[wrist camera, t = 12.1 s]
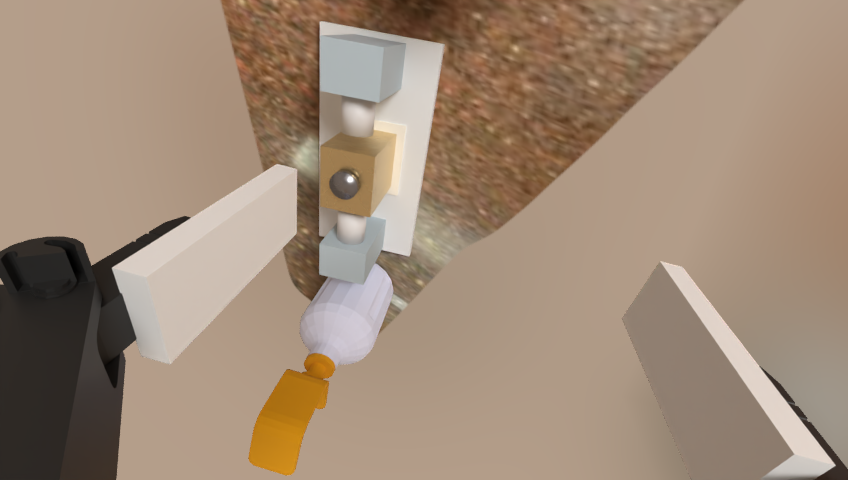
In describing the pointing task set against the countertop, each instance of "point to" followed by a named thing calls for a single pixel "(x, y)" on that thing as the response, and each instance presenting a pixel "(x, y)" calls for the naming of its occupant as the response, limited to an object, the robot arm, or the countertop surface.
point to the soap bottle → (319, 364)
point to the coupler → (356, 172)
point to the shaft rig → (359, 116)
